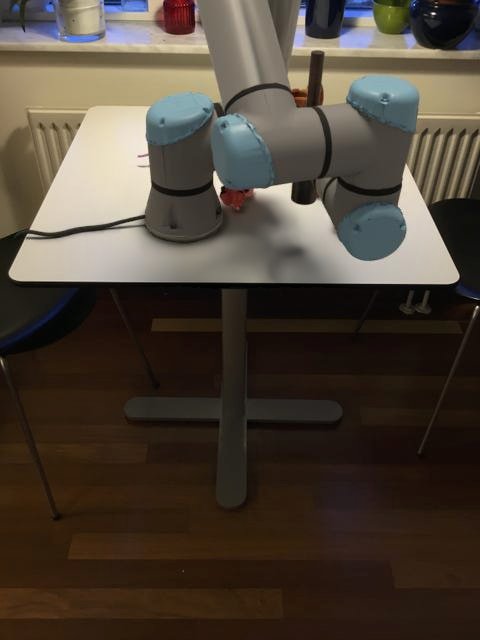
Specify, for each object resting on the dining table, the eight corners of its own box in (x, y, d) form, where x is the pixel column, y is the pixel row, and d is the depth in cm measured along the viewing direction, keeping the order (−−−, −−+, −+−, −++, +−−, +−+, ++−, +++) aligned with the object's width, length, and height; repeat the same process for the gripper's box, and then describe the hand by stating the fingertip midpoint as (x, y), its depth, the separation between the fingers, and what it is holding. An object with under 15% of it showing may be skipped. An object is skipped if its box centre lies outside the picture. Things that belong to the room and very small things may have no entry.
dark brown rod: (301, 207, 95) (315, 58, 79) (285, 196, 98) (296, 50, 82) (321, 201, 97) (339, 53, 81) (305, 190, 100) (320, 46, 84)
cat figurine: (213, 182, 107) (225, 164, 117) (216, 216, 110) (227, 196, 120) (249, 183, 106) (258, 164, 116) (251, 217, 109) (259, 196, 119)
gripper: (285, 206, 77) (257, 136, 95) (389, 199, 79) (343, 132, 96) (288, 154, 72) (259, 91, 90) (400, 149, 74) (349, 88, 91)
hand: (302, 112), depth 93 cm, fingers closed on dark brown rod, 2 cm apart
